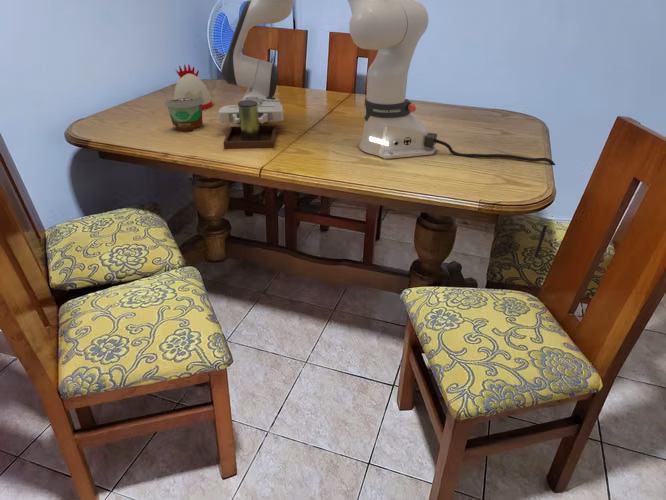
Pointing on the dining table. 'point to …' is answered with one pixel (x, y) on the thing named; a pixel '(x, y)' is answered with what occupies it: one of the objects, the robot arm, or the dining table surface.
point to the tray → (235, 141)
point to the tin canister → (249, 120)
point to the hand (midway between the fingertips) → (249, 121)
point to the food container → (185, 113)
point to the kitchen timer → (191, 87)
